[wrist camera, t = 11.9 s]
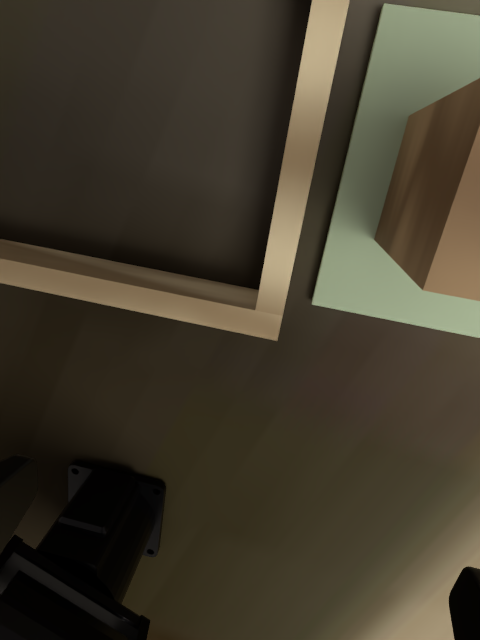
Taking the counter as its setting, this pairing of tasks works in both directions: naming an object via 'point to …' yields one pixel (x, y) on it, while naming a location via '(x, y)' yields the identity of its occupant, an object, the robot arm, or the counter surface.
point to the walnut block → (438, 197)
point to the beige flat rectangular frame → (194, 293)
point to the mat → (379, 161)
